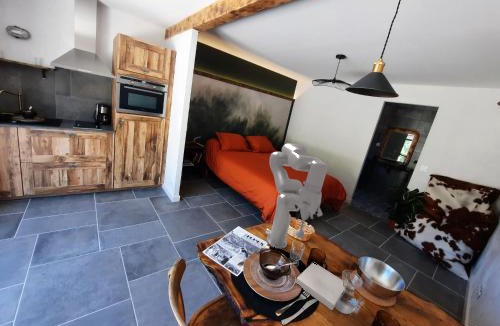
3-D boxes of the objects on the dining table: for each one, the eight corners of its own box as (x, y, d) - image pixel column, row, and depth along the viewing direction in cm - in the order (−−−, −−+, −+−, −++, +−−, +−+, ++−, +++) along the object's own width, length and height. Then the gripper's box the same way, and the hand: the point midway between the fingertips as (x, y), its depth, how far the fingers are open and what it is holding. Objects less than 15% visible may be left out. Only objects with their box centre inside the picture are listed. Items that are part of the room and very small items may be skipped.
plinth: (295, 283, 102) (296, 278, 102) (311, 266, 116) (313, 261, 115) (332, 310, 92) (334, 305, 91) (345, 288, 105) (347, 283, 104)
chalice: (306, 240, 103) (316, 206, 98) (292, 236, 104) (301, 202, 99) (306, 232, 110) (315, 200, 105) (292, 228, 111) (301, 197, 106)
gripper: (293, 181, 103) (284, 215, 107) (327, 196, 92) (316, 233, 97) (300, 179, 108) (291, 211, 113) (333, 193, 98) (322, 227, 103)
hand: (303, 221), depth 105 cm, fingers closed on chalice, 5 cm apart
